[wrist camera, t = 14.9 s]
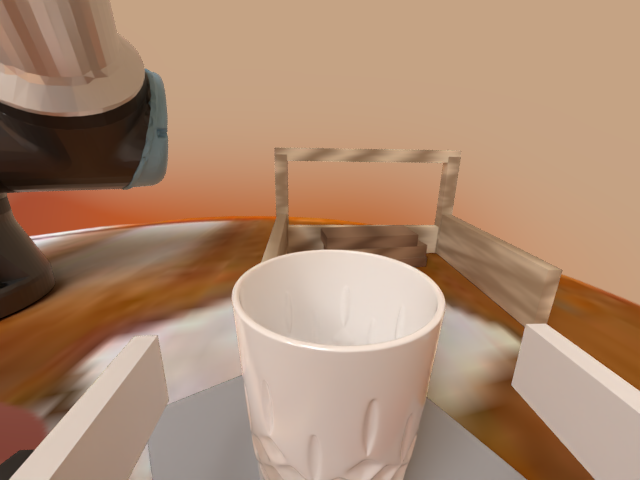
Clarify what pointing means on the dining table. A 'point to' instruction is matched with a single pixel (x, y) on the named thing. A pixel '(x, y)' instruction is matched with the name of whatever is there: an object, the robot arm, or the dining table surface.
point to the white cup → (335, 362)
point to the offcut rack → (432, 235)
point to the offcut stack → (378, 242)
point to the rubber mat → (239, 457)
